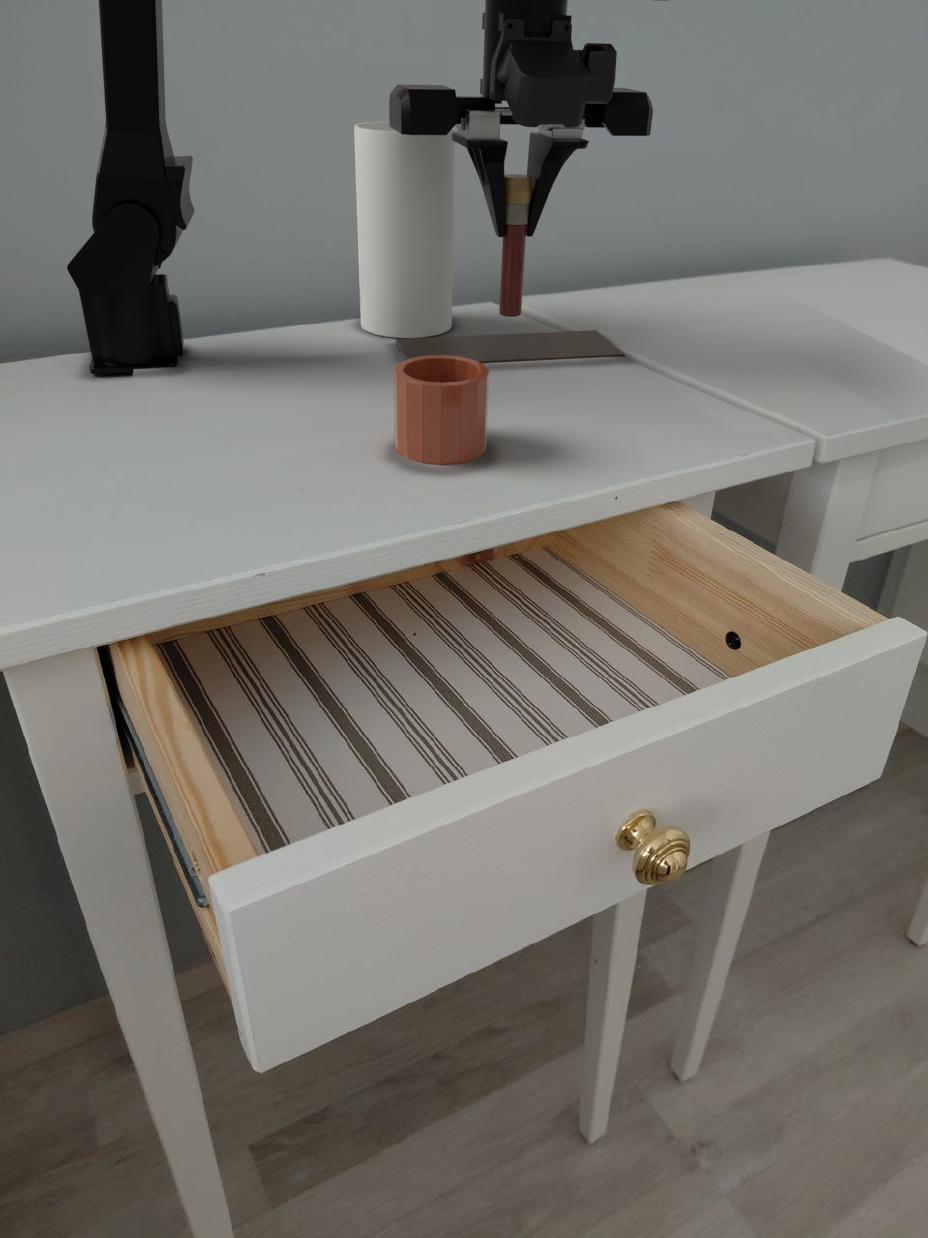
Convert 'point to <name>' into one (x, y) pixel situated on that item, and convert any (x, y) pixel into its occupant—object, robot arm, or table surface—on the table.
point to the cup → (404, 230)
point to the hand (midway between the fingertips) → (513, 235)
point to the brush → (514, 243)
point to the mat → (513, 346)
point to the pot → (441, 409)
